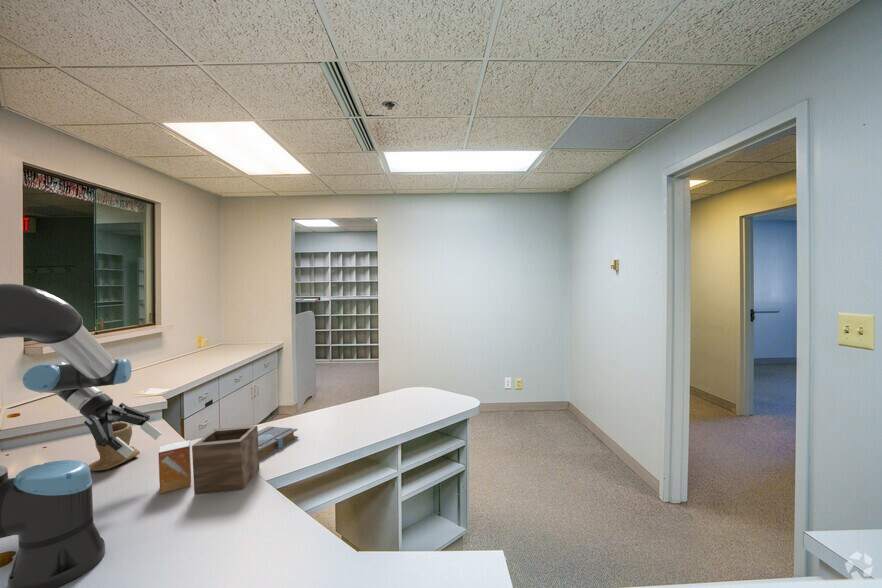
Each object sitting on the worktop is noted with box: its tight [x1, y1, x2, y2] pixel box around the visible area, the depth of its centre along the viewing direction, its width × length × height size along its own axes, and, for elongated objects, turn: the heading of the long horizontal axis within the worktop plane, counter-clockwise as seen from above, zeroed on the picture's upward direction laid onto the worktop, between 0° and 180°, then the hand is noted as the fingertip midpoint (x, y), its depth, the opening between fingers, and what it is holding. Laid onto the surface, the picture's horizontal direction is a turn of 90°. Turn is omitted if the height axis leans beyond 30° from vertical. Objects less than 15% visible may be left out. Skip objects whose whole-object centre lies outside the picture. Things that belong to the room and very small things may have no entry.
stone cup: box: [88, 421, 141, 472], centre depth 137 cm, size 15×12×15 cm
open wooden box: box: [191, 425, 260, 496], centre depth 120 cm, size 14×14×15 cm
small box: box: [158, 439, 192, 494], centre depth 118 cm, size 8×6×13 cm
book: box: [258, 426, 299, 461], centre depth 147 cm, size 21×16×5 cm
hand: (145, 445), depth 118 cm, fingers open, 13 cm apart
